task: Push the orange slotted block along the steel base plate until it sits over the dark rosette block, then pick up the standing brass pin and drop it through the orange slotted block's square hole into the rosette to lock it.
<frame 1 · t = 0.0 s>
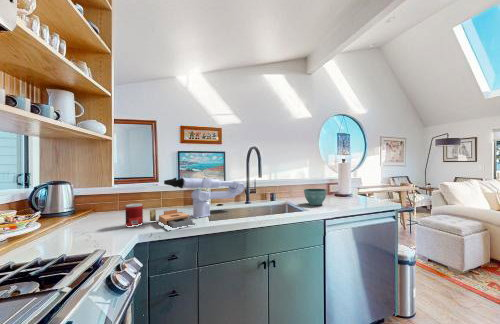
hand: (166, 182, 117), 22 cm above the worktop, tool horizontal, fingers open, 7 cm apart
pin: (153, 222, 117), on the worktop
orange slotted block: (173, 216, 114), point 4 cm above the worktop, slide at -6.0 cm
flower pot: (315, 204, 157), on the worktop
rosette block: (179, 226, 108), on the worktop
canned food: (134, 226, 111), on the worktop
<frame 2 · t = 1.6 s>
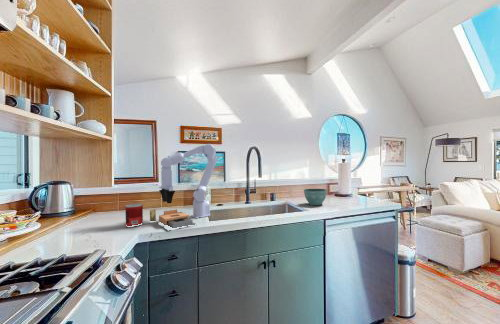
hand: (167, 202, 122), 10 cm above the worktop, tool pointing down, fingers open, 7 cm apart
nothing on the worktop moved.
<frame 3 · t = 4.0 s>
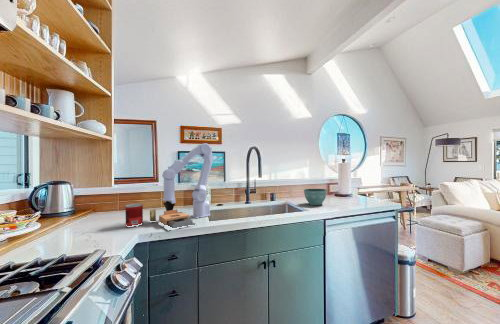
hand: (169, 214, 119), 3 cm above the worktop, tool pointing down, fingers closed
orange slotted block: (174, 216, 114), point 4 cm above the worktop, slide at -5.8 cm, touching gripper
everything else where it was.
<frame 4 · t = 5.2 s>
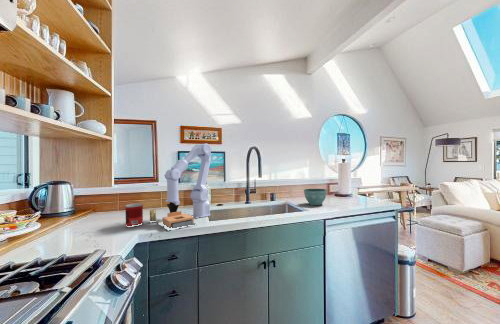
hand: (173, 216, 115), 3 cm above the worktop, tool pointing down, fingers closed
orange slotted block: (178, 218, 109), point 4 cm above the worktop, slide at 0.1 cm, touching gripper
everything else where it was.
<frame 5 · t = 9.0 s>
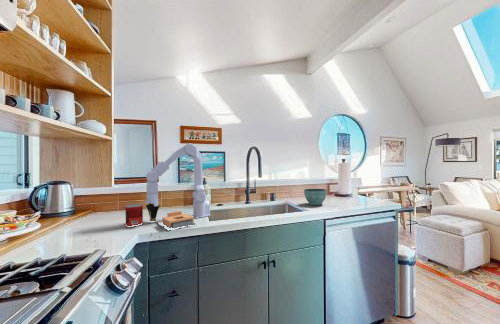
hand: (152, 217, 117), 3 cm above the worktop, tool pointing down, fingers closed on pin, 3 cm apart
pin: (152, 222, 117), on the worktop, touching gripper
orange slotted block: (178, 218, 109), point 4 cm above the worktop, slide at 0.0 cm
everything else where it was.
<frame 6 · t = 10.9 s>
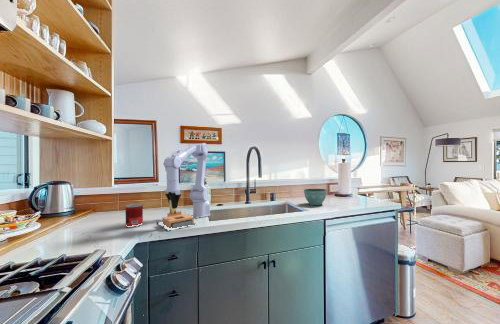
hand: (173, 207, 107), 10 cm above the worktop, tool pointing down, fingers closed on pin, 3 cm apart
pin: (172, 213, 106), point 7 cm above the worktop, touching gripper
everything else where it was.
when the fingers open (5 cm above the worktop, at t = 12.7 s): pin stays where it is, resting on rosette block.
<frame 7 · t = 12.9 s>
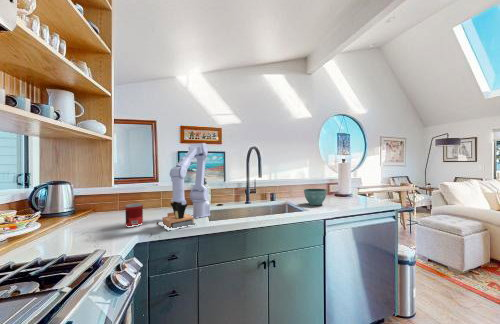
hand: (179, 217, 108), 5 cm above the worktop, tool pointing down, fingers open, 5 cm apart
pin: (178, 224, 108), point 1 cm above the worktop, touching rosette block
everything else where it was.
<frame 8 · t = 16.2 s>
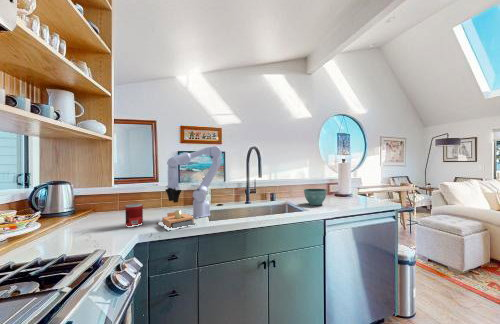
hand: (173, 201, 123), 10 cm above the worktop, tool pointing down, fingers open, 7 cm apart
nothing on the worktop moved.
at the end: orange slotted block slide at 0.0 cm; pin 0.3 cm off-centre on the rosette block, point 0.8 cm above the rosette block's base; pin tilted 0° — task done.
